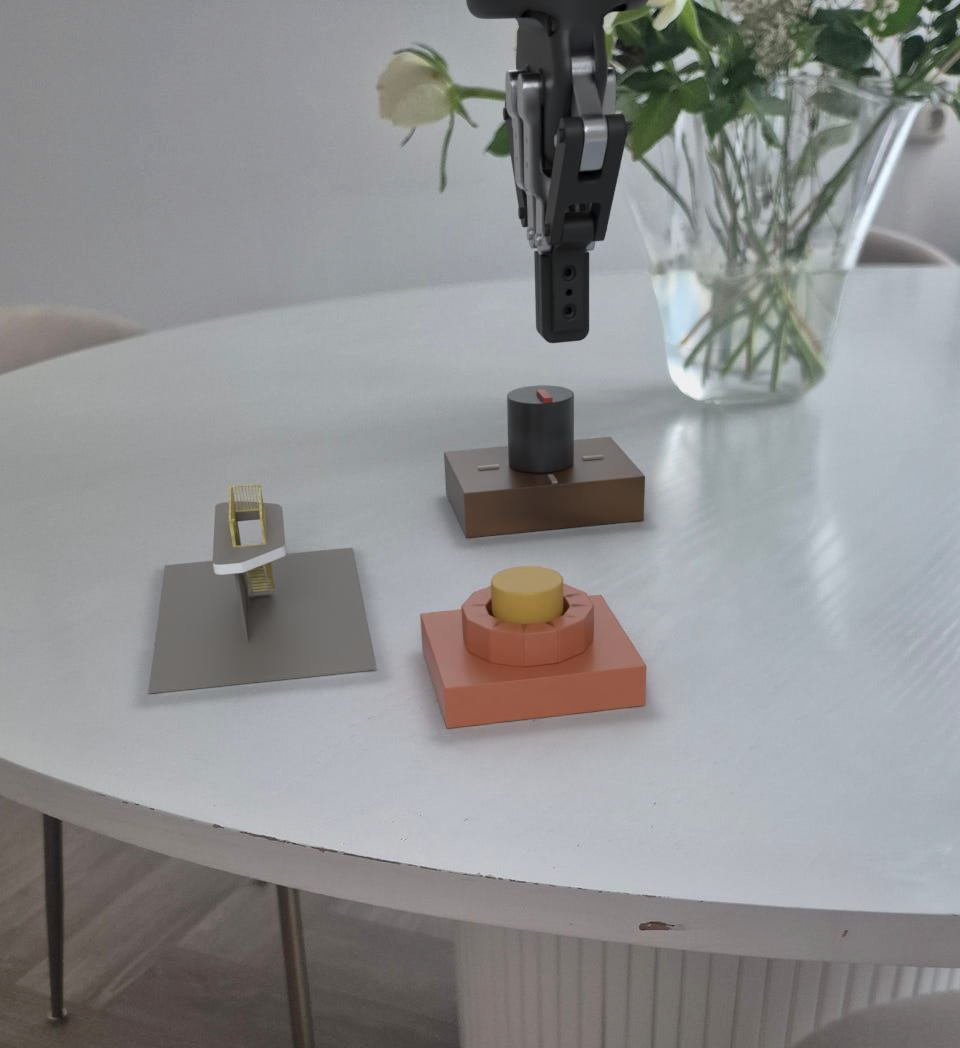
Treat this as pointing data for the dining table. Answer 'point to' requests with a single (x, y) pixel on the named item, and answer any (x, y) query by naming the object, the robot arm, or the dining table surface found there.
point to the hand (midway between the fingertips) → (562, 337)
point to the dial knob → (540, 428)
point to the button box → (530, 662)
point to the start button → (527, 594)
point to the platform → (258, 609)
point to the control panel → (543, 490)
